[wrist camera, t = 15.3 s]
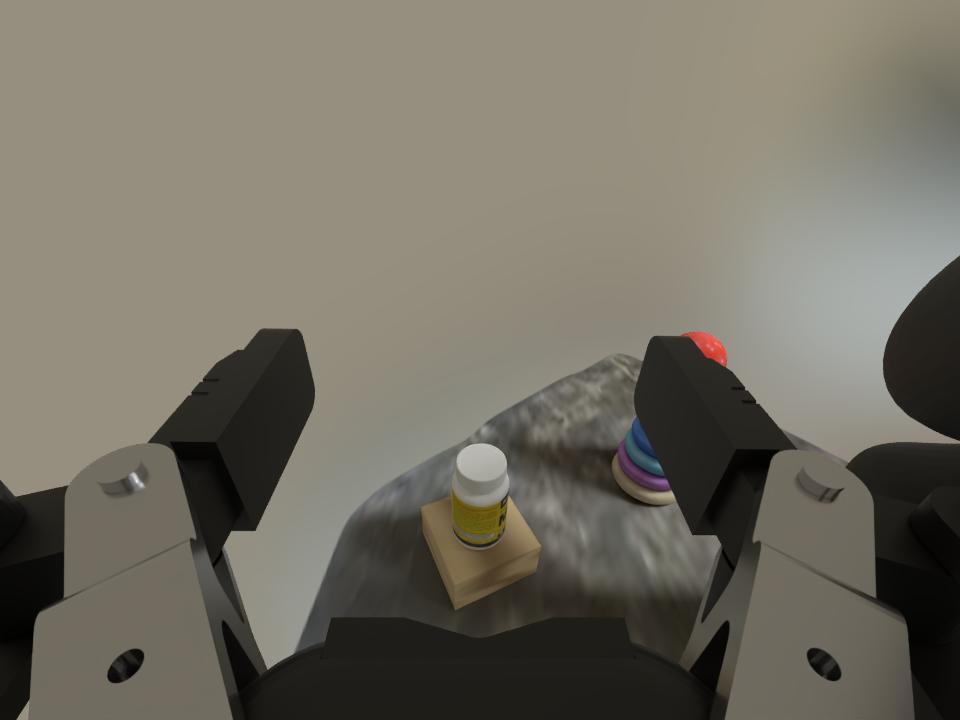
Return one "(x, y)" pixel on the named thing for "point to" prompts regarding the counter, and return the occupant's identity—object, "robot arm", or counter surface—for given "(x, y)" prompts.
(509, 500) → the oak block
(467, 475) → the supplement bottle
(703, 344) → the stacking toy
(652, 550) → the counter surface
